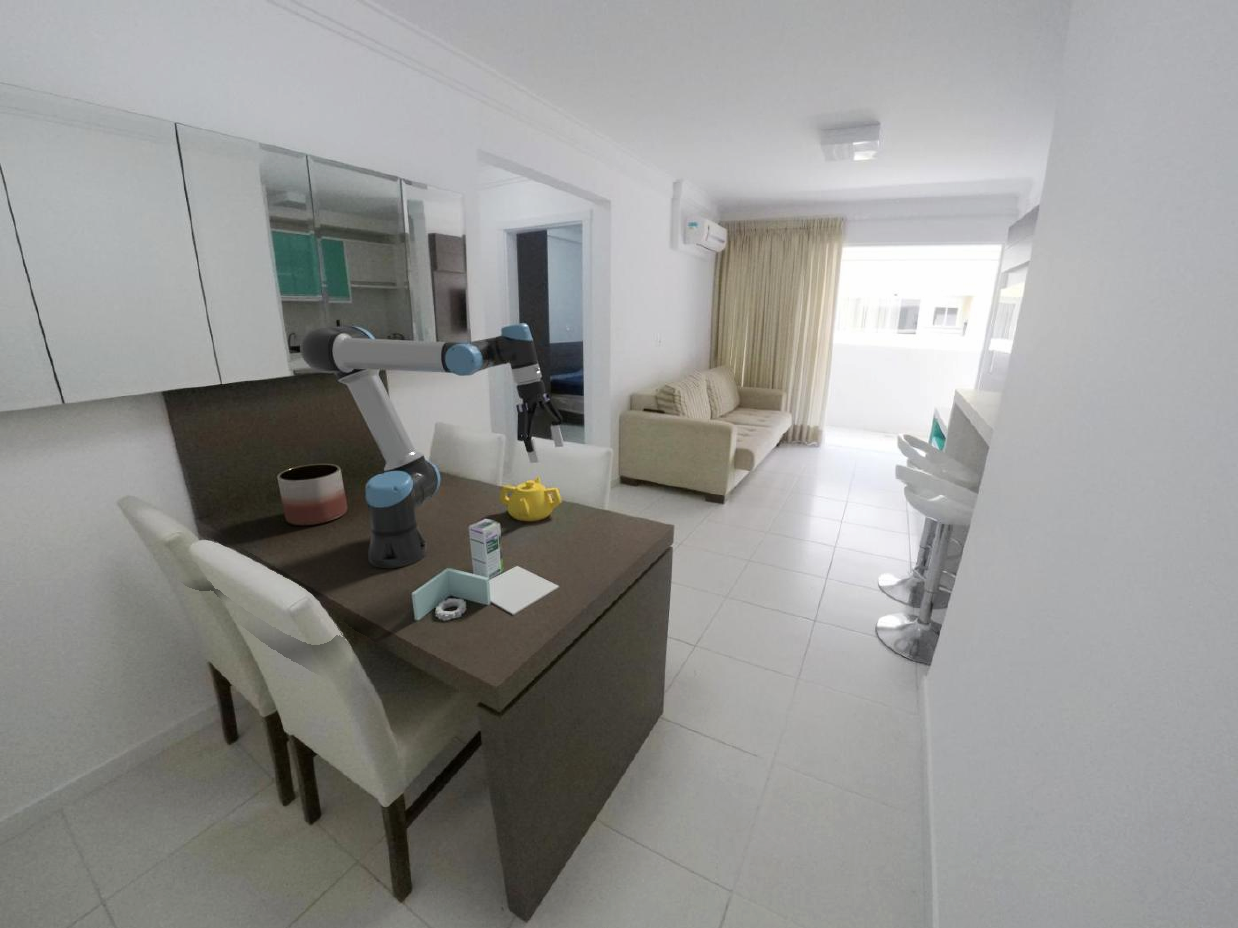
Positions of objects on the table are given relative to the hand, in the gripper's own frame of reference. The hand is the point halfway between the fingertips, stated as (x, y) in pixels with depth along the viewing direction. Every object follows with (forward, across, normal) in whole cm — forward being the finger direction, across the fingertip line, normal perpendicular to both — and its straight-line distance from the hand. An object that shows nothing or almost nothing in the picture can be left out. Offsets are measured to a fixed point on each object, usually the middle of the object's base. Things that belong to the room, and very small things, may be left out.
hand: (548, 454), depth 139 cm
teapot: (+25, +12, +22) cm, 36 cm away
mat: (+26, -29, -1) cm, 39 cm away
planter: (+9, -20, +83) cm, 86 cm away
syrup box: (+24, -26, +10) cm, 37 cm away
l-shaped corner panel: (+24, -43, +7) cm, 50 cm away
